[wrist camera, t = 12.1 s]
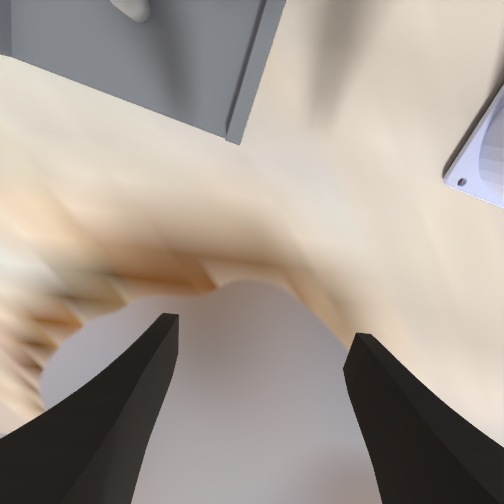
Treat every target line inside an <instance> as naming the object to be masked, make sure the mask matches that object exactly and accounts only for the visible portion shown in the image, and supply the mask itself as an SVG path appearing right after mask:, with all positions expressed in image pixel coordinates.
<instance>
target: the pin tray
mask: <svg viewBox="0 0 504 504" xmlns="http://www.w3.org/2000/svg"><path fill="white" fill-rule="evenodd" d="M285 3H286V0H0V54H1V55H5V56H9V57H13V58H15V59H18V60H21V61H23V62H26V63H28V64H31V65H34V66H36V67H39V68H42V69H44V70H47V71H49V72H52V73H55V74H57V75H60V76H63V77H65V78H68V79H70V80H73V81H76V82H78V83H81V84H84V85H86V86H89V87H91V88H94V89H97V90H99V91H102V92H105V93H107V94H110V95H112V96H115V97H118V98H120V99H123V100H126V101H128V102H131V103H133V104H136V105H139V106H141V107H144V108H147V109H149V110H152V111H154V112H157V113H160V114H162V115H165V116H168V117H170V118H173V119H175V120H178V121H181V122H183V123H186V124H189V125H191V126H194V127H196V128H199V129H202V130H204V131H207V132H209V133H212V134H215V135H217V136H220V137H223V138H225V140H226V141H229V142H231V143H234V144H237V145H240V143H241V140H242V137H243V134H244V130H245V127H246V124H247V121H248V118H249V115H250V112H251V109H252V106H253V102H254V99H255V96H256V93H257V90H258V87H259V84H260V81H261V77H262V74H263V71H264V68H265V65H266V62H267V59H268V56H269V52H270V49H271V46H272V43H273V40H274V37H275V34H276V31H277V28H278V24H279V21H280V18H281V15H282V12H283V9H284V6H285Z"/></svg>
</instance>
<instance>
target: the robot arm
mask: <svg viewBox="0 0 504 504" xmlns="http://www.w3.org/2000/svg"><path fill="white" fill-rule="evenodd" d="M461 178H462V182H461V183H460V184H459V185H458V181H459V180H460V179H461ZM443 182H444V184H445V185H446V186H448V187H451V188H453V189H456V190H458V191H461V192H463V193H466V194H468V195H471V196H473V197H476V198H478V199H481V200H483V201H486V202H488V203H491V204H493V205H496V206H498V207H501V208H503V209H504V85H503V86H502V88H501V89H500V91H499V92H498V94H497V95H496V97H495V99H494V100H493V102H492V103H491V105H490V106H489V108H488V109H487V111H486V113H485V114H484V116H483V117H482V119H481V120H480V122H479V123H478V125H477V126H476V128H475V130H474V131H473V133H472V134H471V136H470V137H469V139H468V140H467V142H466V144H465V145H464V147H463V148H462V150H461V151H460V153H459V154H458V156H457V157H456V159H455V161H454V162H453V164H452V165H451V167H450V168H449V170H448V171H447V173H446V175H445V176H444V179H443ZM178 332H179V315H178V314H168V313H163V314H161V315H160V316H159V317H158V318H157V320H156V321H155V322H154V323H153V324H152V325H151V326H150V327H149V328H148V329H147V330H146V331H145V332H144V333H143V334H142V335H141V336H140V337H139V338H138V339H137V340H136V341H135V342H134V343H133V344H132V345H131V346H130V347H129V348H128V349H127V350H126V351H125V352H124V353H122V354H121V355H120V356H119V357H118V358H117V359H116V360H114V361H113V362H112V363H111V364H110V365H109V366H108V367H106V368H105V369H104V370H103V371H102V372H100V373H99V374H98V375H97V376H95V377H94V378H93V379H92V380H90V381H89V382H88V383H86V384H85V385H84V386H82V387H81V388H80V389H78V390H77V391H76V392H74V393H73V394H71V395H70V396H68V397H67V398H65V399H64V400H63V401H61V402H60V403H58V404H57V405H55V406H54V407H52V408H51V409H49V410H48V411H46V412H45V413H43V414H41V415H40V416H38V417H36V418H35V419H33V420H31V421H30V422H28V423H26V424H25V425H23V426H21V427H20V428H18V429H16V430H15V431H13V432H11V433H10V434H8V435H6V436H5V437H3V438H1V439H0V504H131V501H132V497H133V493H134V490H135V486H136V482H137V479H138V475H139V472H140V468H141V465H142V461H143V457H144V454H145V450H146V447H147V444H148V441H149V438H150V435H151V433H152V430H153V427H154V425H155V422H156V419H157V416H158V414H159V411H160V408H161V406H162V403H163V401H164V398H165V395H166V393H167V390H168V387H169V384H170V382H171V379H172V376H173V372H174V368H175V364H176V359H177V356H178ZM343 371H344V376H345V381H346V386H347V390H348V394H349V397H350V400H351V403H352V406H353V409H354V412H355V415H356V418H357V421H358V424H359V426H360V429H361V432H362V435H363V438H364V440H365V443H366V446H367V449H368V452H369V455H370V458H371V461H372V465H373V468H374V472H375V476H376V480H377V484H378V487H379V492H380V496H381V500H382V504H504V447H502V446H501V445H499V444H498V443H496V442H495V441H494V440H492V439H491V438H489V437H488V436H487V435H485V434H484V433H482V432H481V431H480V430H478V429H477V428H476V427H474V426H473V425H472V424H470V423H469V422H468V421H467V420H465V419H464V418H463V417H462V416H460V415H459V414H458V413H456V412H455V411H454V410H453V409H451V408H450V407H449V406H448V405H447V404H445V403H444V402H443V401H442V400H441V399H440V398H438V397H437V396H436V395H435V394H434V393H433V392H432V391H430V390H429V389H428V388H427V387H426V386H425V385H424V384H423V383H421V382H420V381H419V380H418V379H417V378H416V377H415V376H414V375H413V374H412V373H411V372H410V371H409V370H408V369H407V368H405V367H404V366H403V365H402V364H401V363H400V362H399V361H398V360H397V359H396V358H395V357H394V356H393V355H392V354H391V353H390V352H389V351H388V350H387V349H386V348H385V347H384V346H383V345H382V344H381V343H380V342H379V341H378V340H377V339H376V338H375V337H373V336H372V335H371V334H365V333H356V334H355V337H354V340H353V343H352V345H351V348H350V351H349V354H348V356H347V359H346V362H345V365H344V367H343Z"/></svg>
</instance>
